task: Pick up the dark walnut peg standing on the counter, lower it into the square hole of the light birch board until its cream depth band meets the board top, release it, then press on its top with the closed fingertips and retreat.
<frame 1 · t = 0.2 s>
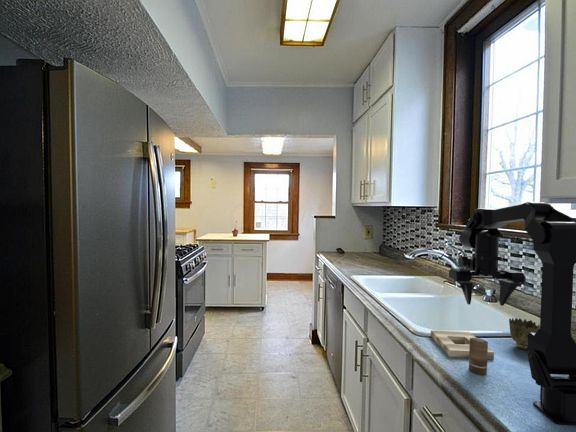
hand: (485, 304, 90), 14 cm above the counter, fingers open, 9 cm apart
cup: (523, 348, 94), on the counter
peg: (477, 371, 81), on the counter
board: (459, 346, 94), on the counter
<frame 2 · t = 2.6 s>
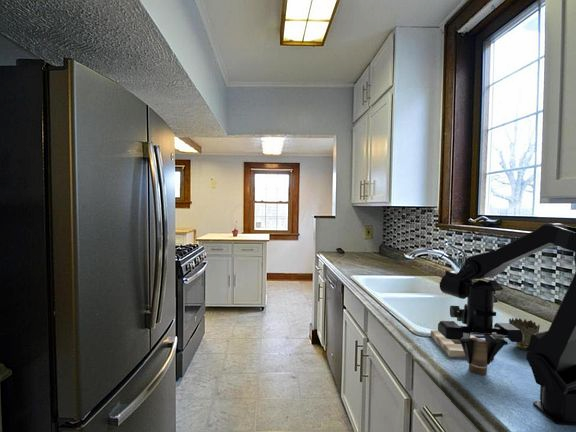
hand: (477, 363, 80), 2 cm above the counter, fingers closed on peg, 4 cm apart
peg: (477, 371, 81), on the counter, touching gripper
everything else where it was.
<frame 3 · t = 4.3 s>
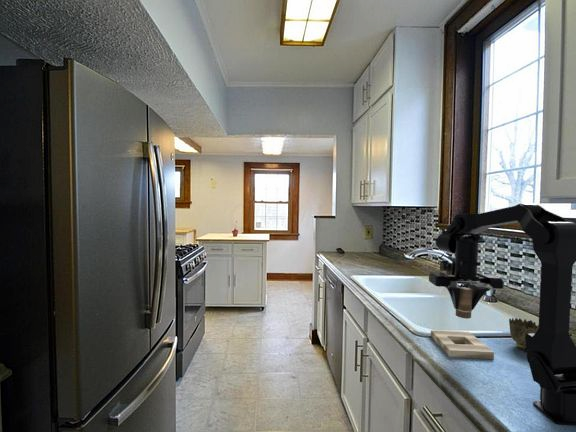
hand: (463, 309, 91), 13 cm above the counter, fingers closed on peg, 4 cm apart
peg: (463, 315, 91), point 11 cm above the counter, touching gripper
everything else where it was.
when the fingers open (3 cm above the counter, at t = 6.5 s): peg drops 1 cm, resting in board.
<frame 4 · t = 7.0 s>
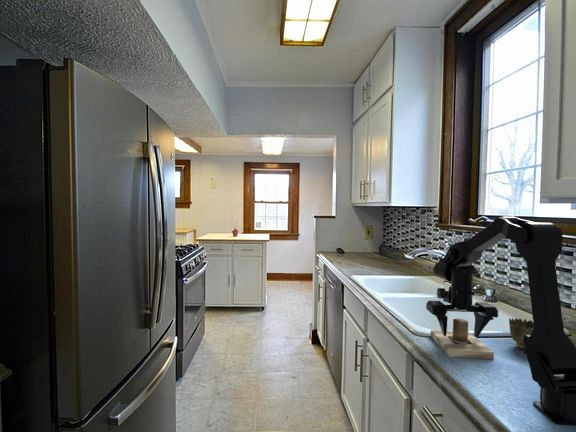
hand: (460, 336, 94), 3 cm above the counter, fingers open, 9 cm apart
peg: (459, 346, 94), resting in board
everything else where it was.
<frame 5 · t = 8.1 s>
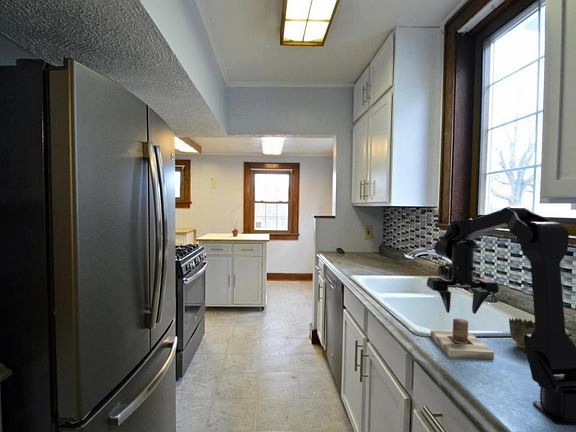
hand: (460, 312, 94), 10 cm above the counter, fingers open, 7 cm apart
nothing on the counter moved.
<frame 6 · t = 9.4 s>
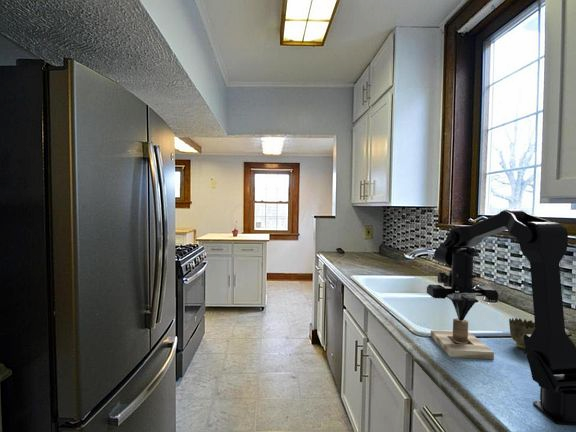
hand: (460, 320, 94), 8 cm above the counter, fingers closed
nothing on the counter moved.
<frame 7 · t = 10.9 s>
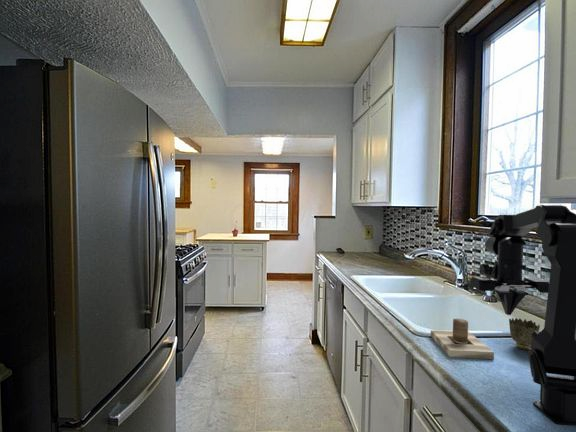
hand: (507, 314, 87), 12 cm above the counter, fingers closed
nothing on the counter moved.
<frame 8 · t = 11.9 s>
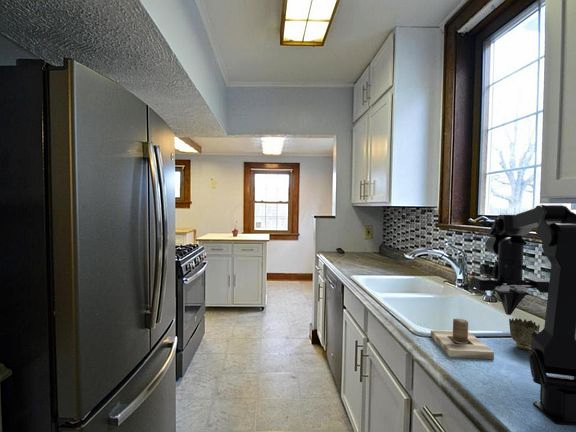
hand: (508, 314, 87), 13 cm above the counter, fingers closed
nothing on the counter moved.
at the end: peg 0.0 cm off-centre on the board, point 0.0 cm above the board's base; peg tilted 0°; the gripper is holding nothing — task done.
